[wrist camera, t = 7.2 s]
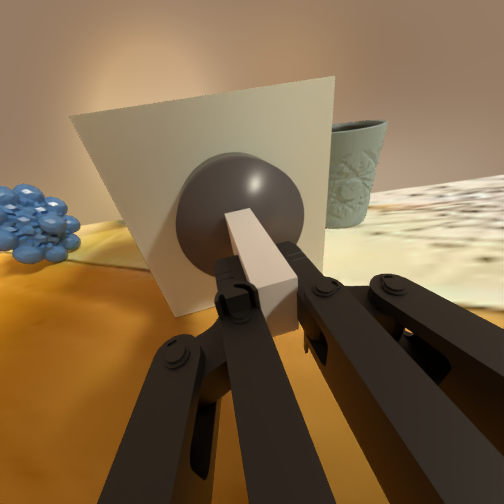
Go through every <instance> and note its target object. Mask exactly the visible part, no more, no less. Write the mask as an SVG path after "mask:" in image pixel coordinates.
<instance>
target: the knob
mask: <svg viewBox="0 0 504 504" xmlns="http://www.w3.org/2000/svg"><path fill="white" fill-rule="evenodd" d="M247 208H250V209H251V211H252V212H253V214H254V215H255V216H256V218H257V219H258V221H259V222H260V224H261V225H262V227H263V228H264V229H265V231H266V232H267V234H268V235H269V237H270V238H271V239H272V241H273V242H274V244H278V243H282V242H286V241H290V242H292V243H294V244H297V242H298V240H299V238H300V235H301V232H302V229H303V224H304V205H303V201H302V197H301V195H300V192H299V190H298V188H297V186H296V185H295V184H294V182H293V181H292V180H291V178H290V177H289V176H288V175H287V174H286V173H284V172H283V171H282V170H280V169H279V168H277V167H275V166H273V165H272V164H270V163H268V162H266V161H264V160H262V159H260V158H258V157H256V156H254V155H251V154H247V153H241V152H229V153H223V154H219V155H216V156H213V157H211V158H209V159H207V160H205V161H204V162H202V163H201V164H200V165H198V166H197V167H196V168H195V169H194V170H193V171H192V172H191V173H190V175H189V176H188V178H187V179H186V181H185V183H184V185H183V187H182V189H181V193H180V196H179V203H178V209H177V215H176V234H177V239H178V242H179V245H180V247H181V249H182V251H183V253H184V255H185V256H186V257H187V259H188V260H189V261H190V262H191V263H192V264H193V265H194V266H195V267H196V268H198V269H199V270H201V271H202V272H204V273H206V274H208V275H210V276H213V277H215V272H214V266H215V263H216V261H217V260H218V259H222V258H226V257H230V256H234V253H233V249H232V244H231V240H230V236H229V231H228V227H227V222H226V218H225V214H226V213H230V212H234V211H239V210H243V209H247Z"/></svg>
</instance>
